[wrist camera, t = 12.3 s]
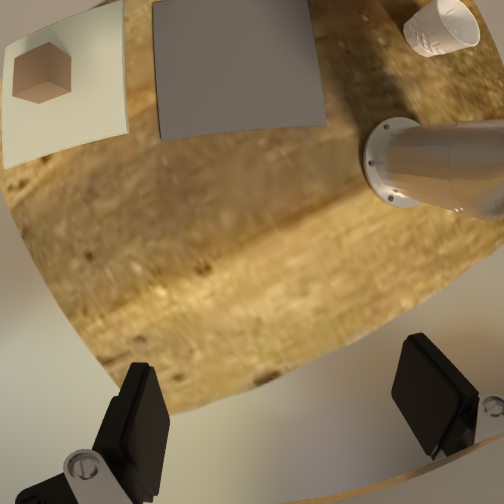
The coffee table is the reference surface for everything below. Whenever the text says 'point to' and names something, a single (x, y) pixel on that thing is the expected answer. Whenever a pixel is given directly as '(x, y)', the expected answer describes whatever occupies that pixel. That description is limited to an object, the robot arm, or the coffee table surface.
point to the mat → (235, 66)
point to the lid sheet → (87, 88)
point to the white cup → (441, 28)
